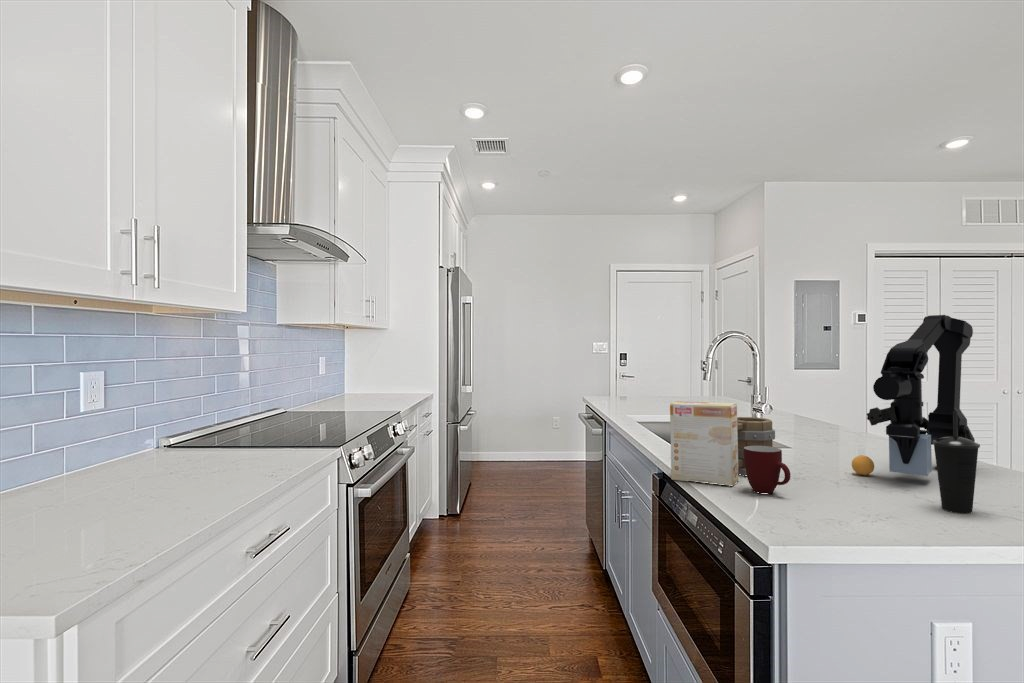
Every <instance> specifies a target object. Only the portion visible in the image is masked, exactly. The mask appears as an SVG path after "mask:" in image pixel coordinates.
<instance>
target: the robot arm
mask: <svg viewBox="0 0 1024 683" xmlns="http://www.w3.org/2000/svg"><path fill="white" fill-rule="evenodd" d="M922 321H923V322H922V323H921V324H920V325H919V326H918V328H917V329H916V330H915V331H914V332H913V334H912V335H911V336H910V337H909V338H908V339H907V340H905V341H902V342H900V343H896V344H895V345H893V346H892V347H891V348H890V349H889V350H888V352H887V354H886V356H885V359H884V362H883V365H882V368H881V371H880V374H881V376H880V377H877V379H876V380H875V381H874V383H873V385H872V386H873V387H872V390H873V393H874V394H875V396H876V397H878V398H879V399H881V400H883V401H891V400H893V401H892V402H890V406H889V407H885V408H882V409H880V408H879V407H878V406H877V407H873V408H870V409H869V411H868V413H866V416H867V417H866V420H868V421H869V423H870V426H871V427H872V426H877V424H881V423H885V422H889V421H890V423H889V424H887V425H886V426H885V435H888V438H889V437H890V438H892V439H893V440H895V441H896V442H897V445H898V448H899V451H900V455H901V458H902V461H903V463H904V464H909V462H910V460H911V457H912V455H913V453H914V450H915V448H916V446H917V443H918V441H919V439H920V436H919V435H920V434H926V435H931V446H934V444H932V441H933V440H937V439H939V438H942V437H949V436H953V411H957V434H958V437H962V438H966V439H969V440H971V441H973V442H975V438H974V436H973V433H972V432H971V430H970V428H969V426H968V419H967V418H966V415H965V414H964V413H963V412H962V409H961V406H960V405H961V382H962V358H963V357H962V356H963V354H964V352H965V351H966V350H967V349H968V348H969V347H970V345H971V338H972V337H973V335H974V329H973V326H972V325H971V324H970V323H969V322H968V321H966V320H963V319H957V318H954V317H951V316H949V315H946V314H937V315H936V314H933V315H927V316H925V317H924V318H923V320H922ZM933 346H934V348H935V349H936V350H937V352H938V353H939V354H938V355H939V357H938V378H937V379H938V380H937V399H936V400H937V402H936V403H937V405H936V407H935V409H933V411H931V412H929V413H928V415H927V418H926V417H924V416H923V407H924V401H923V394H922V393H923V392H922V391H923V389H922V388H923V387H922V386H923V384H922V380H923V379H924V378H925V376H924V374H923V371H924V369H925V367H926V366H927V364H928V361H929V357H928V351H929V350H931V349H932V347H933ZM975 443H976V442H975ZM934 469H935V470H937V465H936V466H934Z"/></svg>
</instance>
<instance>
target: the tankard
mask: <svg viewBox="0 0 1024 683" xmlns="http://www.w3.org/2000/svg"><path fill="white" fill-rule="evenodd" d="M737 433H738V474H741V475H747V474H746V468H745V463H744V447H746V446H769V447H773V445H774V444H773V440H775V439H776V430H775V429H773V421H772V420H771V419H769V418H765V417H755V416H737ZM741 475H740V476H741Z"/></svg>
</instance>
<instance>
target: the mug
mask: <svg viewBox="0 0 1024 683" xmlns="http://www.w3.org/2000/svg"><path fill="white" fill-rule="evenodd" d="M744 463H745V468H746V474H747V476H746V477H747V482H748V484H749V485H750V487H751V488H752V489H751V490H752V491H753V492H754V491H755V492H759V493H772V494H773V493H774V491H775V489H776V488H777V486H784V485H786V484H788V483H789V482H790V480H791V472H790V468H789V467H788V466H787V464H786V463H784V462H783V451H782V448H779V447H776V446H775V447H769V446H746V447H744ZM781 469H782V470H781ZM781 471H783V473H784V477H783V480H782V481H780V476H781ZM755 492H754V493H755ZM759 493H758V494H759Z"/></svg>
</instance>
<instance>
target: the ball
mask: <svg viewBox="0 0 1024 683" xmlns="http://www.w3.org/2000/svg"><path fill="white" fill-rule="evenodd" d="M851 468H852V469H853V472H855V473H856V474H858V475H860V476H869V475H870V474H872V472H874V470H875V462H874V461H873V460H872V458H870V457H869V456H866V455H857V456H854V458H853V459H852V460H851Z"/></svg>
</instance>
